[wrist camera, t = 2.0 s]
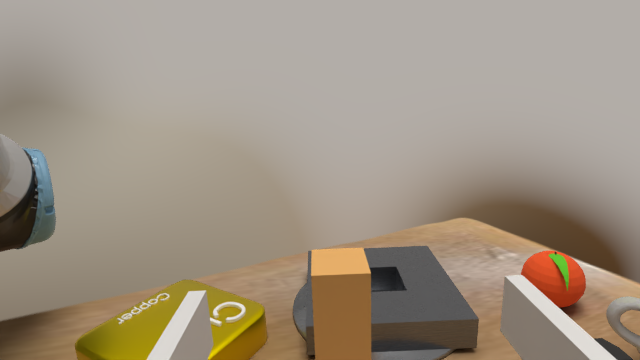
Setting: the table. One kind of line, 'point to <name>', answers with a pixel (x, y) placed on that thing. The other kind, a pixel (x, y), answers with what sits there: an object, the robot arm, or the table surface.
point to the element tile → (157, 311)
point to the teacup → (614, 318)
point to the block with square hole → (404, 307)
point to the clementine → (555, 277)
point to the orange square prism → (341, 304)
